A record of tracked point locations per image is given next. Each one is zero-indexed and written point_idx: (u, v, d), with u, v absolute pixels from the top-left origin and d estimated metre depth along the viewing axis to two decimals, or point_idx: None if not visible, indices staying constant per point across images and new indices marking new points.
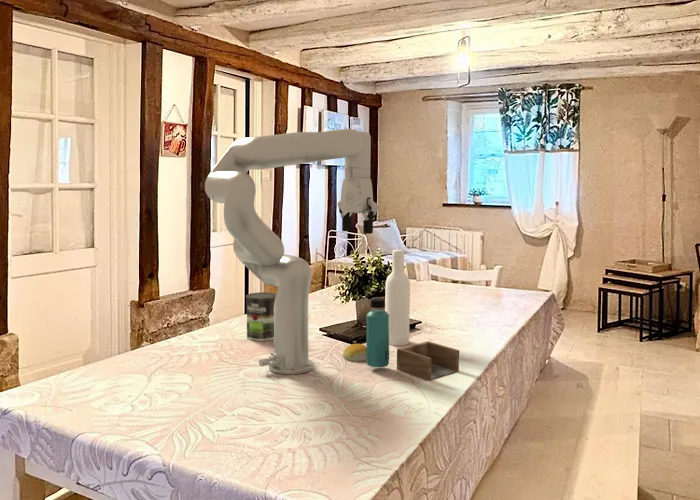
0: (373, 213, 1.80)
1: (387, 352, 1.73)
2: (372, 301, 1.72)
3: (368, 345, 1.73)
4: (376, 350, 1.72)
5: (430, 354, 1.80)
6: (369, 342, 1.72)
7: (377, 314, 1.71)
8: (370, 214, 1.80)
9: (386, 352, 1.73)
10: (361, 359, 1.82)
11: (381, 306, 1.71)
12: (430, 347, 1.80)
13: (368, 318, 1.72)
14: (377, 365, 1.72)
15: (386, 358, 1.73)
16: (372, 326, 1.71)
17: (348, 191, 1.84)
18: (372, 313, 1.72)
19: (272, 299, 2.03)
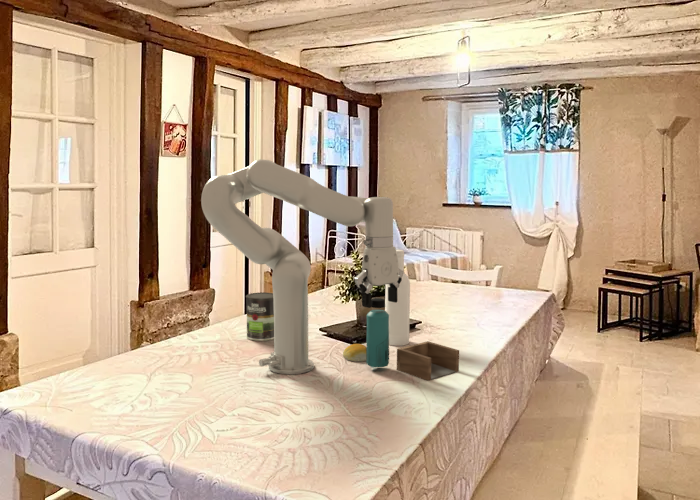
0: None
1: (387, 352, 1.73)
2: (372, 301, 1.72)
3: (368, 345, 1.73)
4: (376, 350, 1.72)
5: (430, 354, 1.80)
6: (369, 342, 1.72)
7: (377, 314, 1.71)
8: (399, 281, 1.76)
9: (386, 352, 1.73)
10: (361, 359, 1.82)
11: (381, 306, 1.71)
12: (430, 347, 1.80)
13: (368, 318, 1.72)
14: (377, 365, 1.72)
15: (386, 358, 1.73)
16: (372, 326, 1.71)
17: (384, 262, 1.69)
18: (372, 313, 1.72)
19: (272, 299, 2.03)
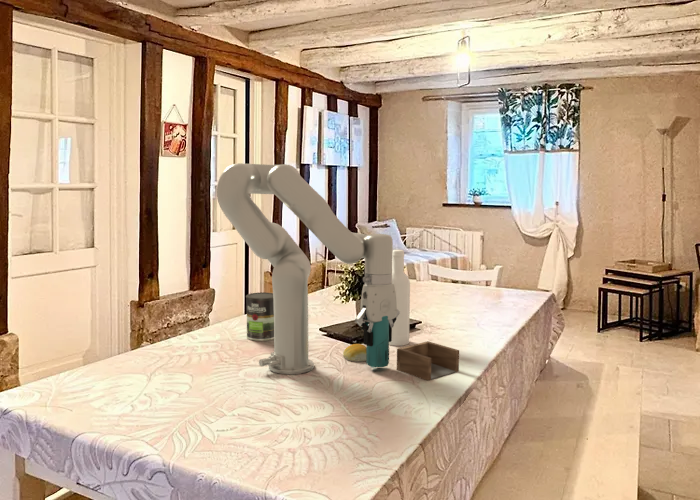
0: None
1: (387, 352, 1.73)
2: None
3: None
4: (376, 350, 1.72)
5: (430, 354, 1.80)
6: None
7: None
8: (394, 320, 1.76)
9: (386, 352, 1.73)
10: (361, 359, 1.82)
11: None
12: (430, 347, 1.80)
13: None
14: (377, 365, 1.72)
15: (386, 358, 1.73)
16: None
17: (383, 299, 1.70)
18: None
19: (272, 299, 2.03)
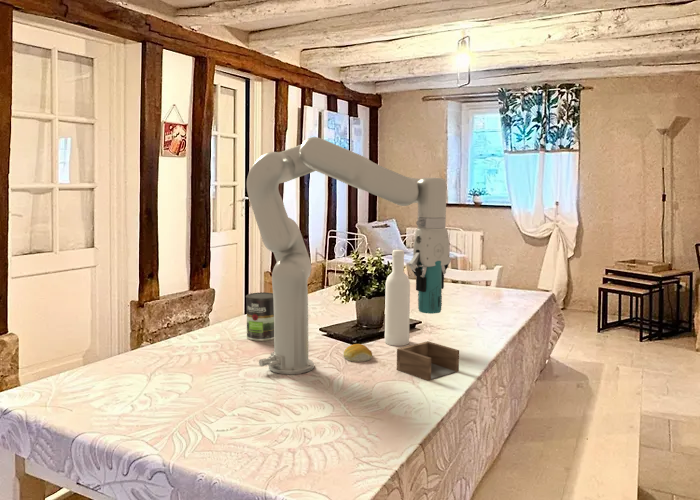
0: None
1: (440, 298, 1.70)
2: None
3: None
4: (429, 296, 1.68)
5: (430, 354, 1.80)
6: None
7: None
8: (446, 267, 1.73)
9: (439, 298, 1.69)
10: (362, 359, 1.82)
11: None
12: (430, 347, 1.80)
13: (421, 263, 1.69)
14: (430, 311, 1.69)
15: (439, 304, 1.70)
16: None
17: (437, 243, 1.67)
18: None
19: (272, 299, 2.03)
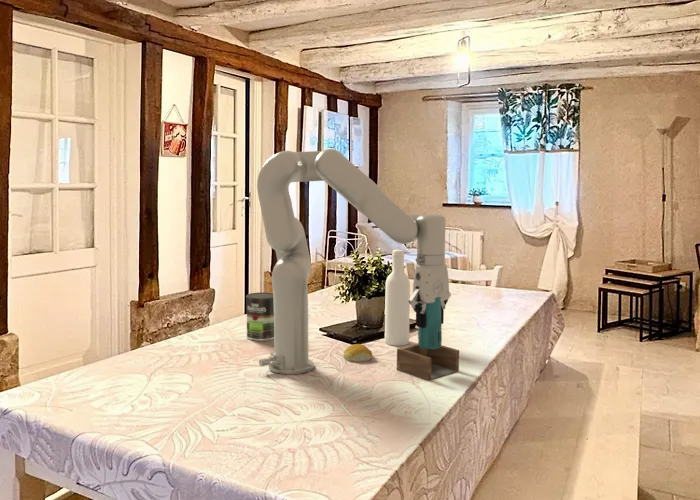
0: None
1: (440, 334, 1.71)
2: None
3: (420, 327, 1.71)
4: (429, 332, 1.70)
5: (430, 354, 1.80)
6: None
7: None
8: (445, 302, 1.74)
9: (439, 334, 1.71)
10: (362, 360, 1.82)
11: None
12: None
13: None
14: (430, 347, 1.70)
15: (439, 340, 1.71)
16: None
17: (436, 280, 1.68)
18: None
19: (272, 299, 2.03)
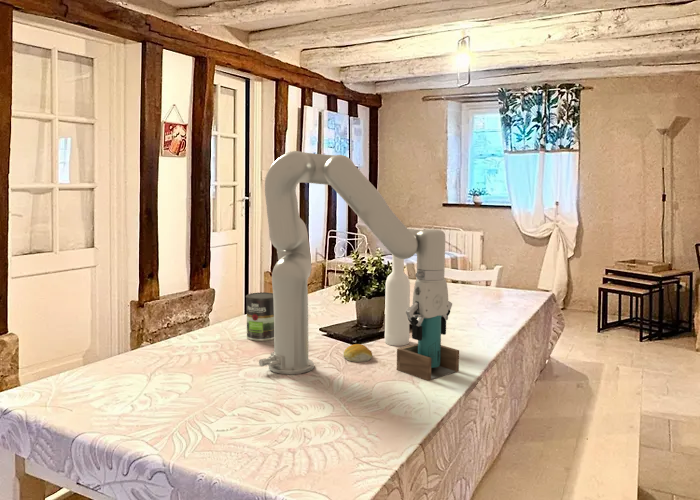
0: None
1: (439, 352, 1.72)
2: None
3: (420, 345, 1.72)
4: (428, 351, 1.70)
5: None
6: (421, 342, 1.71)
7: None
8: (448, 313, 1.76)
9: (438, 352, 1.71)
10: (362, 360, 1.82)
11: None
12: None
13: None
14: None
15: (438, 358, 1.72)
16: (425, 326, 1.70)
17: (435, 295, 1.69)
18: None
19: (272, 299, 2.03)
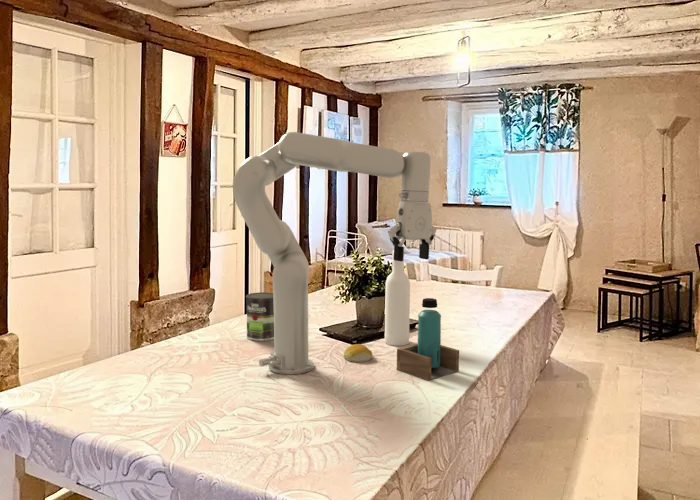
0: None
1: (439, 352, 1.72)
2: (424, 301, 1.71)
3: (420, 345, 1.72)
4: (428, 351, 1.70)
5: None
6: (421, 342, 1.71)
7: (429, 314, 1.70)
8: (432, 238, 1.76)
9: (438, 352, 1.71)
10: (362, 360, 1.82)
11: (433, 306, 1.70)
12: None
13: (420, 318, 1.71)
14: None
15: (438, 358, 1.72)
16: (425, 326, 1.70)
17: (419, 216, 1.69)
18: (424, 313, 1.70)
19: (272, 299, 2.03)
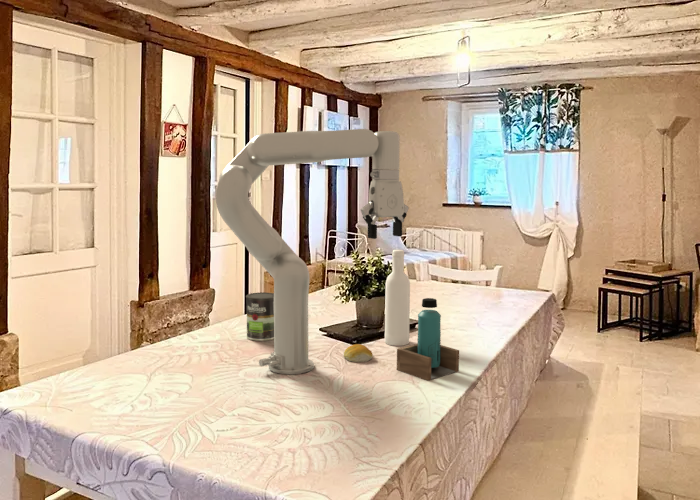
0: None
1: (439, 352, 1.72)
2: (424, 301, 1.71)
3: (420, 345, 1.72)
4: (428, 351, 1.70)
5: None
6: (421, 342, 1.71)
7: (429, 314, 1.70)
8: (404, 216, 1.80)
9: (438, 352, 1.71)
10: (362, 360, 1.82)
11: (433, 306, 1.70)
12: None
13: (420, 318, 1.71)
14: None
15: (438, 358, 1.72)
16: (424, 326, 1.70)
17: (390, 194, 1.73)
18: (424, 313, 1.71)
19: (272, 299, 2.03)
